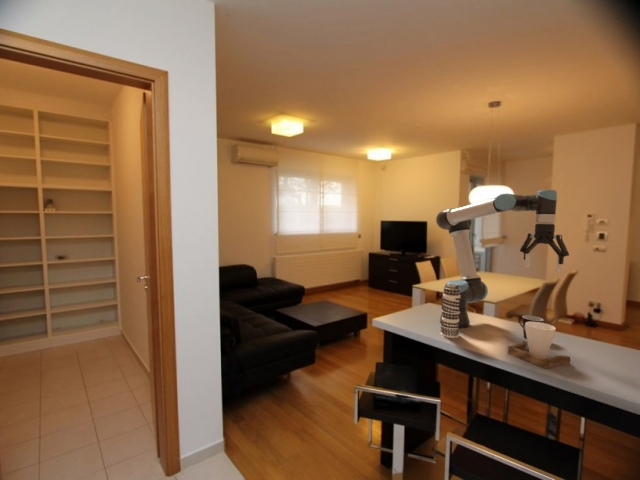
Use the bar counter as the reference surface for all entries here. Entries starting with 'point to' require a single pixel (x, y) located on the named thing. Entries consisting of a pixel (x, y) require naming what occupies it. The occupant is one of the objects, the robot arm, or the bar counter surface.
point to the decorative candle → (450, 311)
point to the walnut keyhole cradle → (545, 363)
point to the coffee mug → (529, 319)
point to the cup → (539, 338)
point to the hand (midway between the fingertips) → (541, 269)
